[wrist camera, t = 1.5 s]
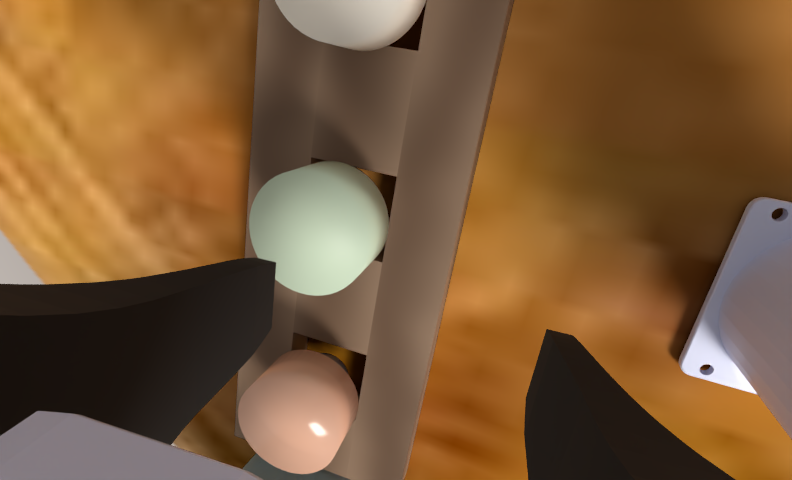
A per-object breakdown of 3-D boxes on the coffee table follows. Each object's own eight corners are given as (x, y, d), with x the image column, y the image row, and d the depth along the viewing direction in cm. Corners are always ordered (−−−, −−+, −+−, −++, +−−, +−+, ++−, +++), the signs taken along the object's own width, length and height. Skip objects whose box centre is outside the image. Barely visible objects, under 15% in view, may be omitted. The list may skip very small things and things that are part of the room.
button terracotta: (377, 347, 23) (344, 400, 19) (363, 424, 24) (330, 488, 20) (289, 320, 24) (240, 365, 20) (282, 396, 25) (235, 451, 21)
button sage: (409, 168, 20) (378, 186, 16) (391, 270, 21) (358, 310, 17) (306, 145, 21) (252, 157, 17) (297, 244, 22) (245, 277, 18)
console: (552, -172, 16) (555, -205, 14) (407, 469, 26) (397, 497, 25) (298, -186, 18) (271, -218, 17) (253, 413, 29) (234, 435, 27)
